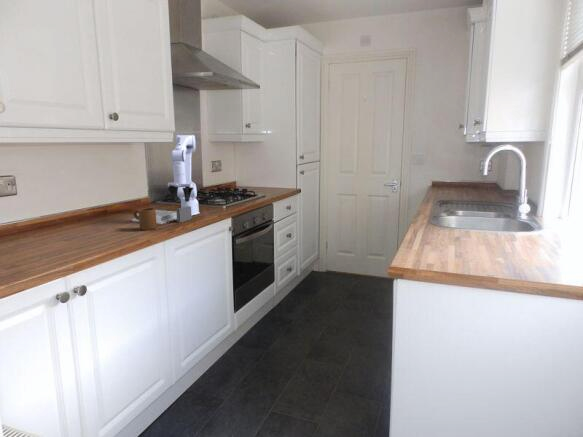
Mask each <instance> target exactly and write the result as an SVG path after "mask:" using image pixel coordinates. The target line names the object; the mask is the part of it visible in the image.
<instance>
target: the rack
mask: <svg viewBox="0 0 583 437" xmlns="http://www.w3.org/2000/svg"><path fill="white" fill-rule="evenodd" d="M155 212H156V224H158V225H163V223H164V224H168V223H170V221H171V222H174V220H175V221H177V212H176V211H171V210H159V209H155ZM137 215H138V216H139V214H138V213H137ZM131 221H132V222H134V223H135V222H137V223H139V220H137V219H136V218H135V217H134V218H132V219H131ZM167 222H168V223H167Z"/></svg>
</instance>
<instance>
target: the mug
mask: <svg viewBox="0 0 583 437" xmlns="http://www.w3.org/2000/svg"><path fill="white" fill-rule="evenodd" d="M155 210H156V208H153V207H146V208H145V207H143V208H140V209H139V208H137V209H134V210H133V212H132V214H133V217H134V219H135V218H136V219H137V220H139V222H138V223H139V230H140V231H144V232H145V231H146V230H149V231H153V230H156V229H157V227H158V226H157V224H156V212H155ZM137 214H139V216H138V215H137Z"/></svg>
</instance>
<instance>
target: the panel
mask: <svg viewBox="0 0 583 437" xmlns="http://www.w3.org/2000/svg"><path fill="white" fill-rule="evenodd" d="M175 212H177V220H176V223H177V222H182V223H185V222H188V221H187V220H189V221H191V220H190V219H192V216H193V215H192V216H191V206H187V207H182V208H181V207H179V208H176V210H175ZM184 221H185V222H184Z"/></svg>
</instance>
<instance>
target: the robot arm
mask: <svg viewBox="0 0 583 437" xmlns="http://www.w3.org/2000/svg"><path fill="white" fill-rule="evenodd" d="M175 144H176V145H175V147H174V149H173V150H172V151H171V152H170V160H171V165H172V168H173V169H172V170H173V171H172V172H173V181H172V182H170V181H169V182H167V190H168V191H169V193H170V195H171V198H172V200H173V202H175V201H176V202H177V201H178V199H179V200H180V208H182V207H187V206H191V216H195V215H198V214H201V212H200V209H199V201H198V200H197V196H198V195H197V194H198V190H197V185H196V183H195V182H193V181H192V155H193V153H194V152H196V136H195V134H186V135H185V134H184V135H183V134H177V135H176V136H175Z"/></svg>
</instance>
